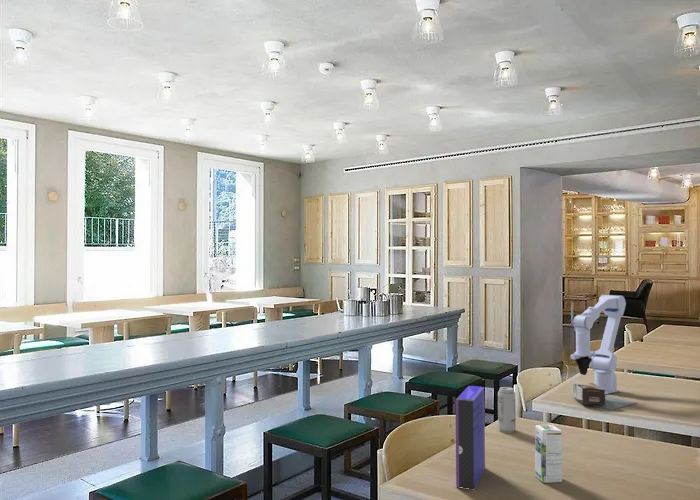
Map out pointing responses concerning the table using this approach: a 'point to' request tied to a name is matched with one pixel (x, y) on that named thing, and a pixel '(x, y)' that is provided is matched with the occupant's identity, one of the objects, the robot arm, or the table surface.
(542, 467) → the syrup box
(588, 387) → the coffee box
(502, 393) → the energy drink can
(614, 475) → the table surface
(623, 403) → the mat
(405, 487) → the table surface
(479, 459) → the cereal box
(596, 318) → the robot arm
